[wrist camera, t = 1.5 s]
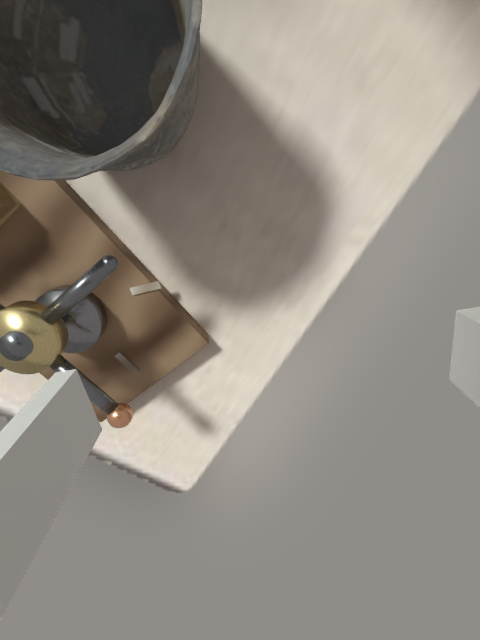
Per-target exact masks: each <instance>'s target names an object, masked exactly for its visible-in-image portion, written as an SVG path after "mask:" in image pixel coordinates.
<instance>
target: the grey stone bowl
mask: <svg viewBox="0 0 480 640" xmlns="http://www.w3.org/2000/svg"><path fill="white" fill-rule="evenodd" d="M201 14H202V0H0V170H1V171H4V172H6V173H9V174H12V175H15V176H19V177H24V178H29V179H34V180H60V181H63V180H73V179H77V178H80V177H83V176H86V175H89V174H92V173H94V172H97V171H107V170H114V171H125V170H132V169H136V168H139V167H141V166H144V165H147V164H150V163H152V162H154V161H156V160H158V159H160V158H161V157H163V156H164V155H166V154H167V153H168V152H169V151H170V150H171V149H173V148H174V146H175V145H176V144H177V142H178V141H179V140H180V138H181V137H182V135H183V133H184V131H185V129H186V127H187V125H188V123H189V121H190V118H191V115H192V112H193V109H194V106H195V103H196V95H197V82H198V69H199V53H200V34H199V30H200V22H201Z"/></svg>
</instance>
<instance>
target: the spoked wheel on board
mask: <svg viewBox="0 0 480 640" xmlns="http://www.w3.org/2000/svg"><path fill="white" fill-rule="evenodd" d="M105 255H113V256H115V257H116V258H117V259H118V262H119V266H118V269H117V270H116V271H115V272H113V273H112V274H111V275H110V276H109V277H108V278H107V279H106V280H104V281H103V282H102V283H101V284H100V285H99V286H98V287H96V288H95V289H94V290H93V291H92V292H91V293H92V294H93V295H94V296H95V297H96V298H97V299H98V300H99V301H100V303H101V304H102V306H103V307H104V310H105V313H106V317H107V324H106V328H105V331H104V333H103V334H102V335H101V337H100V338H99V339H98V340H97V341H96V343H95V344H94V345H93V346H92V347H91V348H89V349H88V350H86V351H83V352H80V353H62V354H61V355H62V356H63V357H64V358H65V359H66V360H68V361H69V362H70V363H71V364H72V365H73V366H75V367H76V368H77V369H78V370H79V371H81V372H82V373H83V374H84V375H85V376H86V377H88V378H89V379H90V380H91V381H92V382H93V383H95V384H96V385H97V386H98V387H99V388H100V389H102V390H103V391H104V392H105V393H106V394H108V395H109V396H110V397H111V398H112V399H113V400H115V401H116V402H117V403H125V404H127V403H128V402H130V401H131V400H132V399H134V398H135V397H136V396H138V395H139V394H140V393H142V392H143V391H145V390H146V389H147V388H149V387H150V386H151V385H153V384H154V383H155V382H157V381H158V380H160V379H161V378H162V377H164V376H165V375H166V374H168V373H169V372H170V371H172V370H173V369H175V368H176V367H177V366H179V365H180V364H181V363H183V362H184V361H185V360H187V359H188V358H190V357H191V356H192V355H194V354H195V353H196V352H198V351H199V350H200V349H202V348H203V347H205V346H206V345H207V344H208V343H209V335H208V334H207V333H206V332H205V330H204V329H203V328H202V327H201V326H200V325H199V324H198V323H197V322H196V321H195V320H194V319H193V318H192V317H191V315H190V314H189V313H188V312H187V311H186V310H185V309H184V308H183V307H182V306H181V305H180V304H179V303H178V302H177V300H176V299H175V298H174V297H173V296H172V295H171V294H170V293H169V292H168V291H167V290H166V289H165V288H164V287H163V285H162V284H161V283H160V282H159V281H158V280H157V279H156V278H155V277H154V276H153V275H152V274H151V273H150V272H149V270H148V269H147V268H146V267H145V266H144V265H143V264H142V263H141V262H140V261H139V260H138V259H137V258H136V257H135V255H134V254H133V253H132V252H131V251H130V250H129V249H128V248H127V247H126V246H125V245H124V244H123V243H122V242H121V241H120V239H119V238H118V237H117V236H116V235H115V234H114V233H113V232H112V231H111V230H110V229H109V228H108V227H107V226H106V224H105V223H104V222H103V221H102V220H101V219H100V218H99V217H98V216H97V215H96V214H95V213H94V212H93V211H92V209H91V208H90V207H89V206H88V205H87V204H86V203H85V202H84V201H83V200H82V199H81V198H80V197H79V196H78V194H77V193H76V192H75V191H74V190H73V189H72V188H71V187H70V186H69V185H68V184H67V183H66V182H65V181H64V180H63V181H60V180H34V179H29V178H24V177H19V176H15V175H12V174H9V173H6V172H4V171H1V170H0V303H1V304H2V305H3V306H4V307H7V306H9V305H11V304H12V303H15V302H18V301H25V300H27V301H35V300H36V299H37V298H38V297H40V296H41V295H43V294H44V293H46V292H48V291H49V290H51V289H53V288H55V287H58V286H62V285H72V284H73V283H74V282H76V281H77V280H78V279H79V278H80V277H81V276H82V275H83V274H84V273H85V272H87V271H88V270H89V269H90V268H91V267H92V266H93V265H94V264H95V263H97V262H98V261H99V260H100V259H101V258H102V257H103V256H105ZM39 373H40V374H42V375H43V376H44V377H45V378H47V379H48V380H49V379H50V378H51V377H52V376H53V375H54V373H55V372H54V371H53V370H52V369H51V368H50V367H48V368H46V369H45V370H43V371H41V372H39ZM90 402H91V401H90ZM91 405H92V407H93V409H94V412H95V414H96V416H97V419H98V420H99V421H100V422H102V421H104V420H105V419H106V418H107V414H105V413H104V412H103V411H102V410H101V409H99V408H98V407H97V406H96V405H94V404H93V403H92V402H91Z"/></svg>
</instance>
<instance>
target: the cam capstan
mask: <svg viewBox="0 0 480 640" xmlns="http://www.w3.org/2000/svg"><path fill="white" fill-rule="evenodd" d="M118 266H119V262H118V259H117V258H116V257H115V256H113V255H105V256H103V257H102V258H101V259H100V260H99V261H98V262H97V263H95V264H94V265H93V266H92V267H91V268H90V269H89V270H88V271H87V272H85V273H84V274H83V275H82V276H81V277H80V278H79V279H78V280H77V281H76V282H74V283H73V284H72V285H62V286H58V287H55V288H53V289H51V290H49V291H48V292H46V293H44V294H43V295H41V296H40V297H38V298H37V299H36V300H35V301H27V300H25V301H18V302H15V303H12V304H11V305H9V306H7V307H4V306H3V305H2V304H1V303H0V372H1V371H2V370H3V369H8V370H10V371H13V372H16V373H20V374H34V373H38V372H41V371H43V370H45V369H46V368H48V367H50V368H51V369H52V370H53V371H54V372H61V371H67V370H73V369H77V368H76V367H75V366H73V365H72V364H71V363H70V362H69V361H68V360H66V359H65V358H64V357H63V356H62V355H61V354H62V353H80V352H83V351H86V350H88V349H89V348H91V347H92V346H93V345H94V344H95V343H96V341H97V340H98V339H99V338H100V337H101V335H102V334H103V333H104V331H105V328H106V324H107V317H106V313H105V310H104V307H103V306H102V304H101V303H100V301H99V300H98V299H97V298H96V297H95V296H94V295H93V294H92V293H91V292H92V291H93V290H94V289H95V288H96V287H98V286H99V285H100V284H101V283H102V282H103V281H104V280H106V279H107V278H108V277H109V276H110V275H111V274H112V273H113V272H115V271H116V270H117V269H118ZM77 372H78V374H79V376H80V379H81V381H82V383H83V386H84V388H85V390H86V393H87V395H88V397H89V400H90V401H91V402H92V403H93V404H94V405H96V406H97V407H98V408H99V409H101V410H102V411H103V412H104V413H105V414H107V420H108V423H109V424H110V425H111V426H112V427H115V428H123V427H125V426H127V425H128V424H129V423H130V422H131V420H132V417H133V411H132V409H131V407H130V406H129V405H127V404H125V403H117V402H116V401H115V400H113V399H112V398H111V397H110V396H109V395H108V394H106V393H105V392H104V391H103V390H102V389H100V388H99V387H98V386H97V385H96V384H95V383H93V382H92V381H91V380H90V379H89V378H88V377H86V376H85V375H84V374H83V373H82V372H81V371H79V370H78V369H77Z"/></svg>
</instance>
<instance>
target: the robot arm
mask: <svg viewBox="0 0 480 640" xmlns="http://www.w3.org/2000/svg"><path fill="white" fill-rule="evenodd" d="M449 380H450V381H451V382H452V383H453V384H455V385H456V386H457V387H458V388H459V389H460V390H461V391H462V392H463V393H464V394H465V395H466V396H467V397H468V398H469V399H471V400H472V401H473V402H474V403H475V404H476V405H477V406H478V407H479V408H480V307H475V308H468V309H462V310H457V311H456V319H455V328H454V338H453V348H452V358H451V367H450V376H449ZM101 431H102V428H101V426H100V423H99V421H98V419H97V416H96V414H95V412H94V409H93V407H92V405H91V402H90V400H89V397H88V395H87V393H86V390H85V388H84V386H83V383H82V381H81V379H80V376H79V374H78V372H77V369H73V370H67V371H61V372H55V373H54V375H53V376H52V377H51V378H50V379H49V380H48V381H47V382H46V383H45V384H44V385H43V386H42V387H41V389H40V390H39V391H38V392H37V393H36V394H35V395H34V396H33V397H32V398H31V399H30V400H29V401H28V402H27V404H26V405H25V406H24V407H23V408H22V409H21V410H20V411H19V412H18V413H17V414H16V415H15V416H14V417H13V419H12V420H11V421H10V422H9V423H8V424H7V425H6V426H5V427H4V428H3V429H2V430H1V431H0V621H1V619H2V617H3V615H4V613H5V611H6V609H7V608H8V606H9V604H10V602H11V600H12V598H13V596H14V595H15V593H16V591H17V589H18V587H19V585H20V583H21V581H22V579H23V578H24V575H25V574H26V572H27V570H28V568H29V566H30V564H31V562H32V560H33V559H34V556H35V555H36V553H37V551H38V549H39V548H40V546H41V544H42V542H43V540H44V538H45V536H46V534H47V532H48V531H49V529H50V527H51V525H52V523H53V521H54V519H55V517H56V516H57V514H58V512H59V510H60V508H61V506H62V504H63V502H64V500H65V498H66V497H67V495H68V493H69V491H70V489H71V487H72V485H73V483H74V482H75V480H76V478H77V476H78V474H79V472H80V470H81V468H82V467H83V465H84V463H85V461H86V459H87V457H88V455H89V453H90V452H91V450H92V448H93V446H94V444H95V442H96V440H97V438H98V436H99V435H100V433H101Z"/></svg>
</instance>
